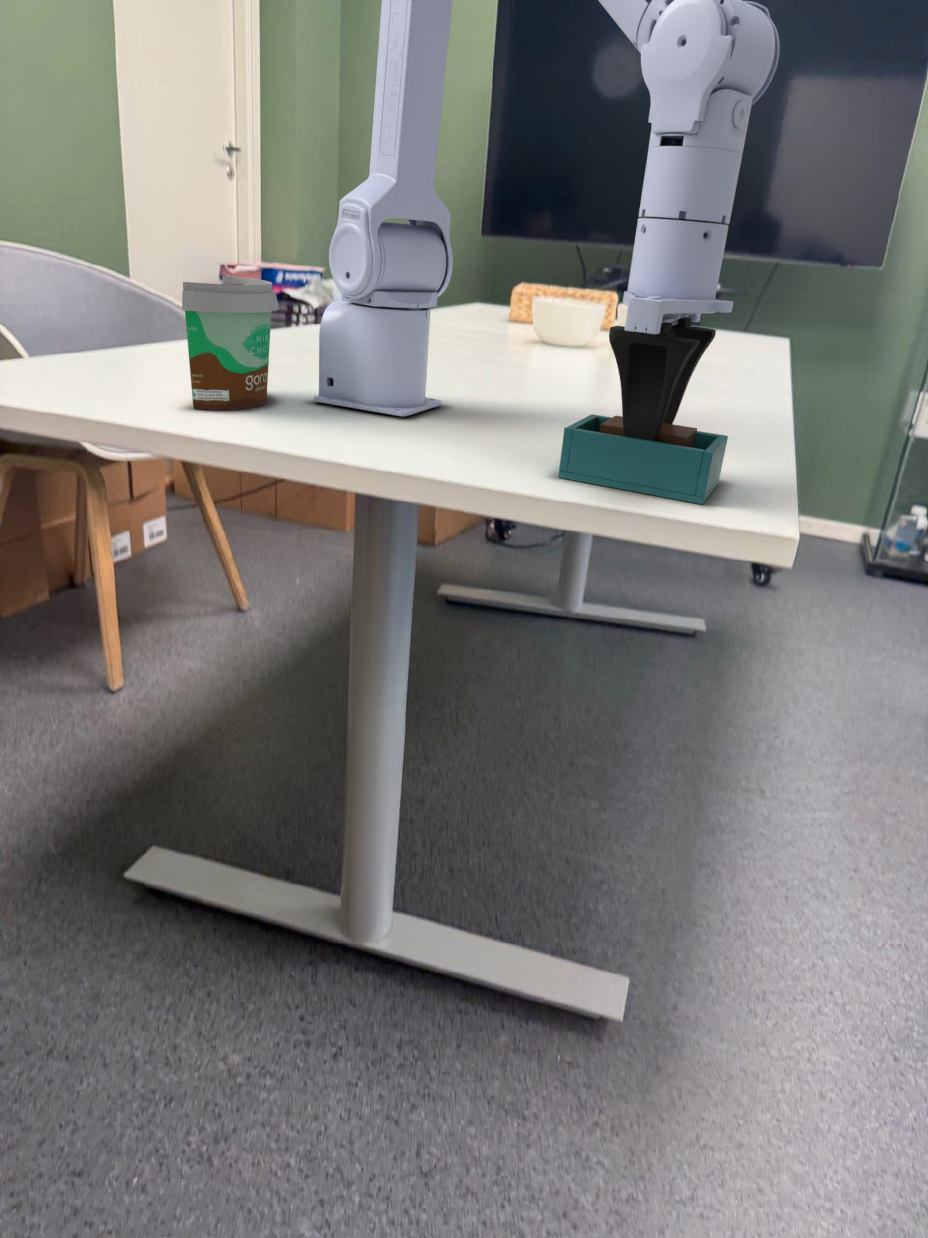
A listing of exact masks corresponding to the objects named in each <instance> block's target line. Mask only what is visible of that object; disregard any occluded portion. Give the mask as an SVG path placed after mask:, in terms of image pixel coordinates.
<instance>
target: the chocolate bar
mask: <svg viewBox="0 0 928 1238" xmlns="http://www.w3.org/2000/svg"><path fill="white" fill-rule="evenodd" d="M697 431H698V427H692V426H687V425H686V426H685V425H680V424H679V425H678V424H674V423H673V424H667V423H663V426H662V428H661V431H660V433H659V435H658V437H657V439H656V441H655V442H661V443H667V444H673V445H679V446H685V447H691V448H694V444H695V439H696V434H697ZM600 432H601V433H607V434H613V435H619V436H624V430H623V417H622V416H621V415H615V416H613V417H612V418H611V419H609V420H607V421H605V422H604V423H602V424H601V427H600Z"/></svg>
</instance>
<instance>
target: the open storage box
mask: <svg viewBox="0 0 928 1238" xmlns="http://www.w3.org/2000/svg"><path fill="white" fill-rule="evenodd" d="M611 418H613V417H611V416H606V415H605V416H604V415H599V414H590V415H587V416H586V417H583V418H582V419H580V420H578V421H576V422H574V423H572V424H570V425H568V426H566V427H564V430H563V437H562V445H561V452H560V461H559V467H558V478H561V479H566V480H570V481H576V482H581V483H586V484H593V485H597V486H602V487H608V488H613V489H619V490H624V491H630V492H633V493H640V494H644V495H645V494H646V495H651V496H656V497H660V498H666V499H671V500H677V501H683V502H688V503H691V504H692V503H693V504H697V505H698V504H699V505H704V503H705V502H706V501H707V499H708V498H709V496H710V495H711V493H712V492H713V491H714V489H715V488H717V486H718V484H719V482H720V476H721V471H722V467H723V463H724V458H725V453H726V449H727V444H728V439H729V436H728V435H725V434H719V433H712V432H706V431H700V430H697V434H696V439H695V444H694V448H691V447H685V446H679V445H673V444H667V443H661V442H655V441H649V440H643V439H637V438H631V437H625V436H619V435H613V434H607V433H601V432H600V427H601V424H602V423H604V422H605V421H607V420H609V419H611Z"/></svg>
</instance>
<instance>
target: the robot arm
mask: <svg viewBox="0 0 928 1238" xmlns="http://www.w3.org/2000/svg"><path fill="white" fill-rule="evenodd" d="M597 1H598V3H600V5H601V6H602V7H603V8H604V10H605V11H606V12H607V14H608V15H609V16H610V17H611V18H612V19H613V21H614V23H616V25H617V26H618V27H619V28H620V30H621V32H622V33H623V34H624V35H625V36H626V37H627V38H628V40H629V41H630V42H631V43H632V45H633V47H635V48H636V50H637V51H638V53H640V67H641V74H642V77H643V80H644V84H645V85H646V88H647V89H648V93H649V97H650V105H649V106H650V107H649V113H648V121H647V123H650V124H651V127H650V129H651V130H650V135H649V141H648V150H647V156H646V162H645V170H644V177H643V183H642V190H641V197H640V203H639V205H640V206H639V210H638V217H637V224H636V230H635V237H634V244H633V251H632V255H631V263H630V271H629V278H628V283H627V290H624V292H623V296H622V297H623V298H622V304H623V305H625V306H626V307H627V310H626V318H625V324H624V326H623V325H613V326H610V327H609V332H608V340H609V344H610V346H611V349H612V352H613V356H614V358H615V362H616V367H617V371H618V375H619V383H620V391H621V394H620V395H621V396H620V397H621V413H622V417H623V430H624V436H625V437H631V438H637V439H643V440H649V441H656V439H657V437H658V435H659V433H660V431H661V428H662V426H663V423H667V424H673V425H674V422H675V420H676V417H677V414H678V412H679V409H680V407H681V404H682V401H683V398H684V395H685V393H686V390H687V387H688V385H689V382H690V380H691V378H692V375H693V373H694V372H695V370H696V368H697V366H698V364H699V362H700V360H701V359H702V357H703V355H704V353H705V352H706V350H707V349H708V348H709V346H710V345H711V343H712V342H713V341H714V339H715V338H716V333H717V330H716V329H715V328H709V327H701V326H693V325H692V323H699V322H700V321H701V315H702V314H706V315H707V314H714V313H721V314H729V313H731V312H732V311H733V307H734V301H733V300H726V299H724V300H723V299H717V297H716V296H717V292H718V291H717V290H718V285H719V280H720V274H721V269H722V266H723V258H724V255H725V254H724V253H725V249H726V243H727V238H728V232H729V228H730V227H729V225H730V222H731V216H732V212H733V206H734V202H735V197H736V196H735V195H736V191H737V190H736V189H737V185H738V179H739V175H740V169H741V164H742V159H743V153H744V148H745V143H746V137H747V131H748V127H749V121H750V117H751V112H752V106H753V105H754V104H755V103H756V102H757V101H759V99H760V98H761V97H762V96H763V95H764V93H765V92H766V90H767V89H768V87H769V85H770V84H771V82H772V80H773V78H774V76H775V74H776V71H777V67H778V65H779V58H780V50H781V49H780V47H781V46H780V36H779V32H778V29H777V27H776V25H775V24H774V21H773V20H772V19H771V15H770V11H769V9H768V8H767V7H766V6H765V5H763V4H760V3H758V2H755V1H750V0H597ZM453 2H454V0H381V6H380V20H379V33H378V34H379V35H378V46H377V48H378V50H377V61H376V62H377V63H376V74H375V90H374V101H373V102H374V104H373V119H372V131H371V132H372V133H371V145H370V159H369V173H368V177H367V178H366V179H365V181H363V182H362V183H360V184H359V185H358V186H357V187H355V188H354V189H352V190H351V191H349V192H348V193H347V194H345V196H343V198H341V199H340V201H339V203H338V205H339V206H338V217H337V224H336V226H335V230H334V233H333V235H332V238H331V241H330V245H329V250H328V262H329V264H328V265H329V269H330V273H331V276H332V279H333V282H334V284H335V286H336V288H337V289H338V291H339V292H340V293H341V297H342V298H341V299H338V300H334V301H332V302H330V303H329V304H328V306H327V307H325V309H324V312H323V314H322V317H321V320H320V325H319V333H318V395H315V396H313V400H314V402H315V403H321V404H322V403H323V404H327V405H334V406H339V407H343V408H344V407H345V408H349V409H350V408H351V409H356V410H361V411H368V412H373V413H379V414H385V415H391V416H395V417H396V416H397V417H408V416H411V415H414V414H418V413H420V412H424V411H427V410H431V409H433V408H437V407H439V406H442V405H443V401H442V399H437V398H433V397H431V398H430V397H426V395H427V393H426V392H427V377H428V359H429V346H430V345H429V344H430V343H429V342H430V329H431V328H430V327H431V326H430V325H431V310H432V309H431V308H433V307H434V308H435V307H438V298H439V297H440V296H441V295H443V294H444V292H445V291H446V289H447V288H448V287H449V286H448V285H449V284H450V282H451V278H452V274H453V269H454V255H453V250H452V245H451V239H450V237H451V236H450V228H451V221H452V220H451V219H452V215H451V213H450V211H449V209H448V208H447V207H446V204H445V203H444V202H443V200H442V199H441V197H440V195H439V194H438V192H437V191H436V189H435V186H434V185H435V176H436V166H437V156H438V149H439V148H438V145H439V137H440V127H441V117H442V109H443V107H442V106H443V100H444V99H443V98H444V88H445V79H446V70H447V60H448V51H449V41H450V30H451V21H452V12H453ZM391 219H399V220H406V221H407V223H398V222H388V221H386V220H391Z"/></svg>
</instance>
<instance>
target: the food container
mask: <svg viewBox="0 0 928 1238" xmlns="http://www.w3.org/2000/svg"><path fill="white" fill-rule="evenodd" d="M182 288H183V289H182V290H181V294H182V295H181V310H182V311H184V314H185V315H184V316H185V327H186V328H185V329H186V338H187V350H188V361H189V363H188V364H189V374H190V385H191V387H190V388H191V397H192V408H193V409H194V410H205V411H206V410H209V411H210V410H213V411H215V410H216V411H222V410H223V411H228V410H230V411H231V410H244V409H252V408H258V407H261V406H263V405H266V404H267V402H268V401H267V400H268V399H267V398H268V381H269V363H270V347H271V328H272V327H271V325H272V312H276V311H279V310H280V307H279V302H278V297H277V293H276V290H274V289H273V283H272V282H271V281H270V280H269V281H268V280H264V279H258V278H250V277H243V276H242V277H241V276H233V275H232V276H231V275H222V283H207V282H191V281H182Z"/></svg>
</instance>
